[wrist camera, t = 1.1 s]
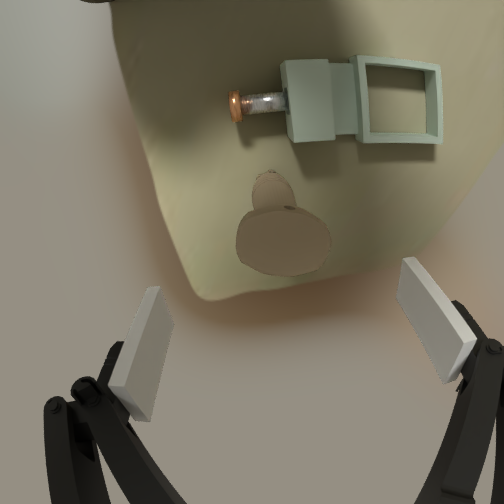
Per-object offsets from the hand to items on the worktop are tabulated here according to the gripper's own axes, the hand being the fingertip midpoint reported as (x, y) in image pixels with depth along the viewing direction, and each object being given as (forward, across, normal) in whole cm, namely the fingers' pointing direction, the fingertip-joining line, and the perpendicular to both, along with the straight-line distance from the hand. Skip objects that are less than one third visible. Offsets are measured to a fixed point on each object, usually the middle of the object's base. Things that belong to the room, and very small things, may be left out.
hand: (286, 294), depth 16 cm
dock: (+20, +12, +9) cm, 25 cm away
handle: (+20, 0, 0) cm, 20 cm away
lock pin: (+19, +1, +9) cm, 21 cm away
